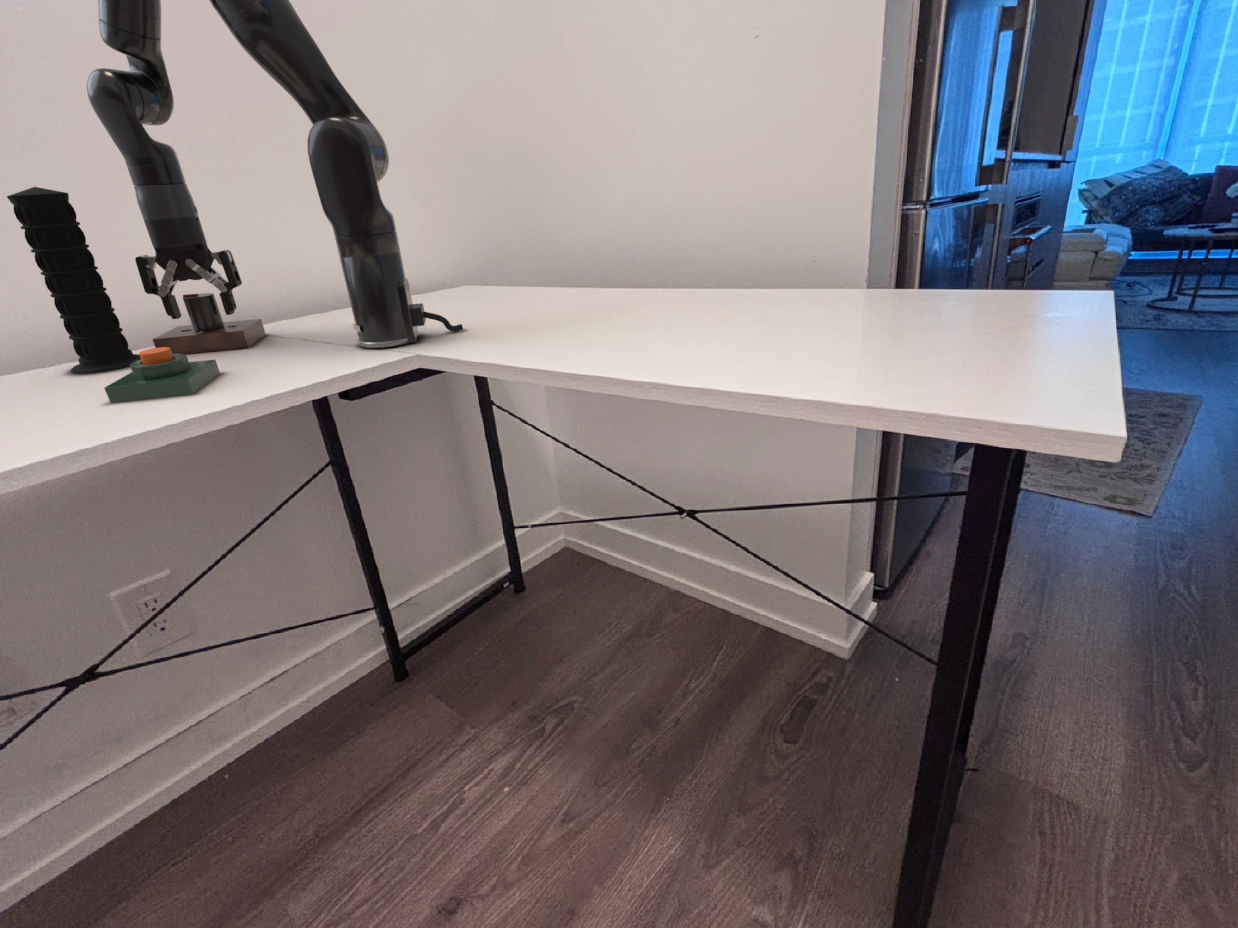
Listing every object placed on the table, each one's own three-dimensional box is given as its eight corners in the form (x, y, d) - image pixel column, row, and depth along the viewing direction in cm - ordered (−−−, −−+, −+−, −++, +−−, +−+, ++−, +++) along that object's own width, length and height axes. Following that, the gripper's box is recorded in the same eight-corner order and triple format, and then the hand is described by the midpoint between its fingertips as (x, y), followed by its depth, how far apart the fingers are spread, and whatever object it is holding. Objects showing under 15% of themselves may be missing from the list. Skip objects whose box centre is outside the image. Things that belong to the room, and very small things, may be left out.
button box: (220, 373, 92) (211, 347, 91) (193, 394, 83) (182, 365, 82) (146, 381, 91) (135, 354, 89) (110, 403, 82) (98, 374, 80)
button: (179, 358, 87) (174, 345, 87) (167, 364, 84) (163, 352, 83) (150, 360, 87) (146, 348, 86) (138, 367, 84) (133, 355, 83)
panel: (266, 334, 115) (260, 317, 114) (248, 348, 106) (242, 329, 105) (183, 342, 113) (177, 325, 112) (158, 356, 104) (151, 338, 103)
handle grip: (54, 374, 97) (106, 375, 95) (-32, 190, 86) (25, 186, 84) (112, 356, 106) (161, 356, 104) (42, 187, 94) (95, 183, 92)
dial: (228, 323, 111) (217, 290, 108) (218, 329, 107) (207, 294, 104) (200, 326, 110) (188, 292, 107) (189, 332, 106) (177, 297, 103)
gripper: (109, 219, 96) (148, 324, 103) (209, 213, 98) (241, 316, 105) (133, 216, 103) (168, 315, 110) (226, 211, 105) (255, 308, 112)
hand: (204, 316), depth 107 cm, fingers open, 8 cm apart
